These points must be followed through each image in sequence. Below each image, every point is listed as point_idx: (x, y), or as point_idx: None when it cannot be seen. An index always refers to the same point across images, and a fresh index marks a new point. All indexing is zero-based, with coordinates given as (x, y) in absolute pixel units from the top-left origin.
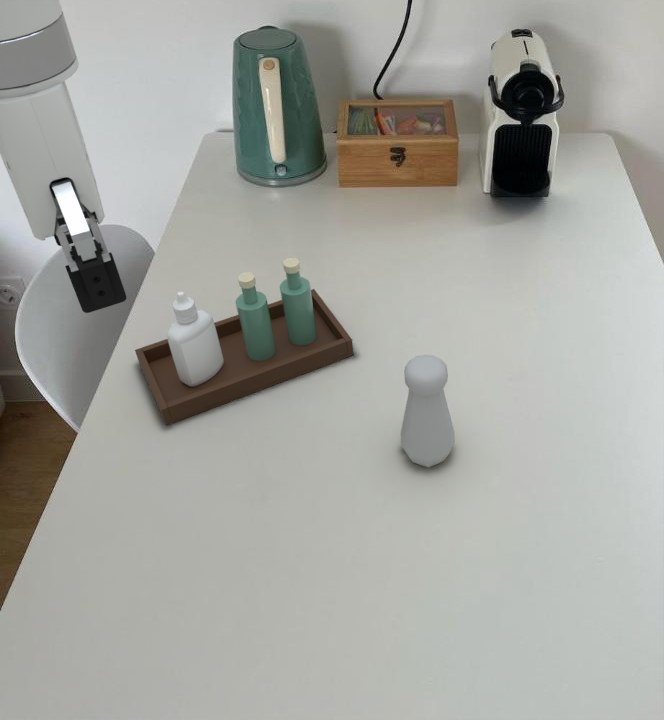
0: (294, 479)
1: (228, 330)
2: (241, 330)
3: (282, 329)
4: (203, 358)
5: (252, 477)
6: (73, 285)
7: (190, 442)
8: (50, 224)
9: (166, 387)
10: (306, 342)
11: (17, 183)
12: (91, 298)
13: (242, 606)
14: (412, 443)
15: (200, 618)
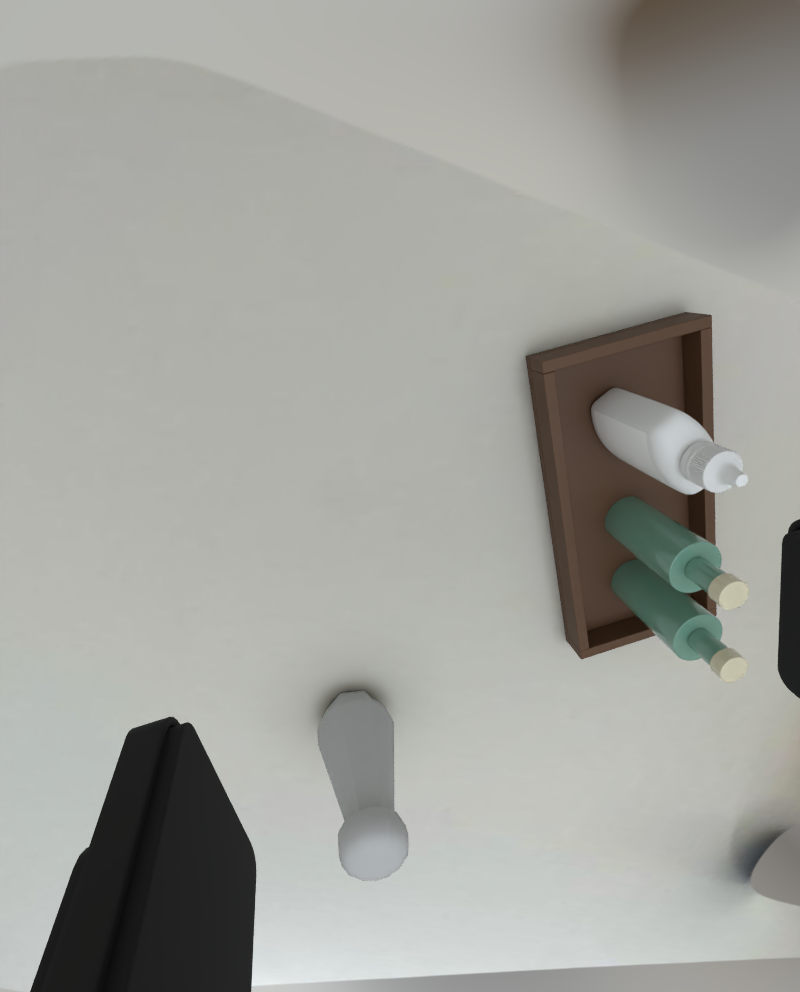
0: (352, 545)
1: None
2: None
3: None
4: (622, 448)
5: (373, 487)
6: (67, 916)
7: (475, 395)
8: None
9: (608, 361)
10: (613, 586)
11: None
12: (68, 889)
13: (134, 460)
14: (335, 728)
15: (120, 399)
